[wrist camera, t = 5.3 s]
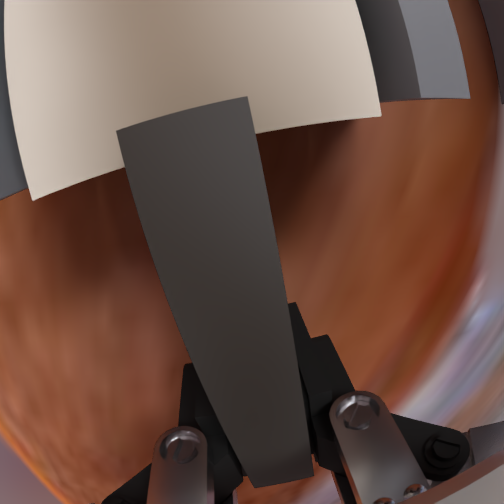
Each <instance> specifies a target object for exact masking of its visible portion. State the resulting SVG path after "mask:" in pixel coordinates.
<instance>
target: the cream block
mask: <svg viewBox="0 0 504 504" xmlns="http://www.w3.org/2000/svg"><path fill="white" fill-rule="evenodd" d="M4 42H5V60H6V72H7V82H8V90H9V98H10V105H11V111H12V117H13V123H14V128H15V133H16V138H17V143H18V148H19V152H20V156H21V161H22V165H23V169H24V172H25V176H26V180H27V184H28V187H29V191H30V194H31V197H32V201H33V200H36V199H38V198H41V197H43V196H45V195H48V194H50V193H53V192H55V191H58V190H61V189H63V188H66V187H68V186H71V185H74V184H77V183H79V182H82V181H85V180H88V179H90V178H93V177H96V176H99V175H102V174H105V173H108V172H111V171H114V170H117V169H120V168H123V167H125V169H126V173H127V177H128V180H129V184H130V188H131V191H132V195H133V198H134V202H135V205H136V208H137V212H138V215H139V218H140V222H141V225H142V228H143V231H144V234H145V237H146V240H147V244H148V247H149V250H150V253H151V256H152V259H153V261H154V264H155V267H156V270H157V273H158V276H159V279H160V281H161V284H162V287H163V290H164V292H165V295H166V298H167V301H168V303H169V306H170V308H171V311H172V314H173V316H174V319H175V321H176V324H177V326H178V329H179V331H180V334H181V336H182V339H183V341H184V344H185V346H186V349H187V351H188V353H189V356H190V358H191V360H192V363H193V365H194V367H195V370H196V372H197V374H198V377H199V379H200V381H201V383H202V385H203V388H204V390H205V392H206V394H207V396H208V399H209V401H210V403H211V405H212V407H213V409H214V411H215V413H216V416H217V418H218V420H219V422H220V424H221V426H222V428H223V430H224V432H225V434H226V436H227V438H228V440H229V442H230V444H231V446H232V448H233V449H234V451H235V453H236V455H237V457H238V459H239V461H240V463H241V465H242V466H243V468H244V470H245V472H246V474H247V476H248V477H249V479H250V481H251V483H252V485H253V486H254V488H259V487H265V486H270V485H276V484H281V483H286V482H291V481H295V480H300V479H304V478H308V477H312V476H314V471H313V464H312V457H311V449H310V442H309V435H308V428H307V422H306V415H305V408H304V401H303V395H302V388H301V382H300V375H299V369H298V363H297V357H296V350H295V344H294V338H293V332H292V326H291V320H290V314H289V308H288V303H287V297H286V291H285V285H284V280H283V274H282V269H281V263H280V257H279V252H278V247H277V241H276V236H275V230H274V225H273V220H272V214H271V209H270V204H269V199H268V194H267V189H266V183H265V178H264V173H263V168H262V163H261V158H260V153H259V149H258V144H257V139H256V134H257V133H262V132H268V131H273V130H279V129H285V128H291V127H297V126H303V125H310V124H317V123H324V122H332V121H340V120H349V119H358V118H368V117H379V116H381V109H380V103H379V98H378V92H377V87H376V82H375V76H374V72H373V67H372V62H371V58H370V53H369V49H368V45H367V41H366V37H365V33H364V29H363V25H362V22H361V18H360V15H359V11H358V8H357V4H356V1H355V0H5V1H4Z"/></svg>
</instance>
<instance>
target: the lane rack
mask: <svg viewBox="0 0 504 504" xmlns="http://www.w3.org/2000/svg"><path fill="white" fill-rule="evenodd" d="M4 1H5V0H0V200H2V199H4V198H7V197H9V196H11V195H13V194H16V193H18V192H20V191H23V190H25V189H27V188H29V187H28V184H27V180H26V176H25V172H24V169H23V165H22V161H21V156H20V152H19V148H18V143H17V138H16V133H15V128H14V123H13V117H12V111H11V105H10V98H9V90H8V82H7V72H6V60H5V42H4ZM355 1H356V4H357V8H358V11H359V15H360V18H361V22H362V25H363V29H364V33H365V37H366V41H367V45H368V49H369V53H370V58H371V62H372V67H373V72H374V76H375V82H376V87H377V92H378V98H379V103H381V102H393V101H407V100H425V99H470V93H469V86H468V80H467V75H466V70H465V65H464V60H463V55H462V51H461V46H460V42H459V38H458V34H457V31H456V27H455V23H454V20H453V16H452V13H451V10H450V7H449V4H448V1H447V0H355ZM478 1H479V4H480V7H481V10H482V13H483V16H484V20H485V23H486V27H487V30H488V34H489V38H490V42H491V46H492V50H493V55H494V60H495V64H496V70H497V75H498V81H499V87H500V94H501V101H502V104H504V0H478Z"/></svg>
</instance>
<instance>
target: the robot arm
mask: <svg viewBox="0 0 504 504" xmlns="http://www.w3.org/2000/svg"><path fill="white" fill-rule="evenodd" d="M288 308H289V314H290V320H291V326H292V332H293V338H294V344H295V350H296V357H297V363H298V369H299V375H300V382H301V388H302V395H303V401H304V408H305V415H306V422H307V428H308V435H309V442H310V449H311V454H314V457H315V461H316V462H318V463H319V466H321V467H323V468H326V469H328V470H331V474H332V477H333V480H334V483H335V485H336V488H337V491H338V494H339V497H340V500H341V503H342V504H504V421H502V422H498V423H494V424H489V425H485V426H480V427H475V428H470V429H469V430H468V432H464V433H461V432H460V431H457V430H454V429H451V428H447V427H443V426H438V425H434V424H430V423H426V422H422V421H418V420H414V419H410V418H406V417H403V416H399V415H395V414H392V413H390V412H389V410H388V408H387V407H386V405H385V403H384V402H383V401H382V399H381V398H380V397H379V396H377V395H375V394H374V393H371V392H367V391H355V389H354V387H353V385H352V383H351V381H350V379H349V376H348V374H347V372H346V370H345V368H344V366H343V364H342V362H341V360H340V358H339V356H338V354H337V352H336V350H335V348H334V346H333V343H332V341H331V339H330V338H329V336H328V335H327V334H326V335H323V336H319V337H315V338H310V336H309V333H308V331H307V328H306V326H305V323H304V321H303V319H302V316H301V314H300V311H299V309H298V307H297V304H296V302H293V303H289V304H288ZM243 476H247V474H246V472H245V470H244V468H243V466H242V465H241V463H240V461H239V459H238V457H237V455H236V453H235V451H234V449H233V448H232V446H231V444H230V442H229V440H228V438H227V436H226V434H225V432H224V430H223V428H222V426H221V424H220V422H219V420H218V418H217V416H216V413H215V411H214V409H213V407H212V405H211V403H210V401H209V399H208V396H207V394H206V392H205V390H204V388H203V385H202V383H201V381H200V379H199V377H198V374H197V372H196V370H195V367H194V365H193V363H189V364H185V365H184V369H183V379H182V389H181V400H180V411H179V423H178V427H174V428H172V429H170V430H168V431H166V432H165V433H163V434H162V435H161V436H160V437H159V439H158V440H157V441H156V444H155V447H154V452H153V459H152V463H151V464H149V465H148V466H147V467H146V468H144V469H143V470H142V471H141V472H139V473H138V474H137V475H135V476H134V477H133V478H132V479H130V480H129V481H128V482H126V483H125V484H124V485H122V486H121V487H120V488H118V489H117V490H116V491H114V492H113V493H112V494H110V495H109V496H108V497H107V498H106V499H104V500H103V501H102V503H101V504H238V501H237V490H236V488H237V487H238V486H239V485H240V484H241V483H242V482H243ZM91 504H95V503H91Z"/></svg>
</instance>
